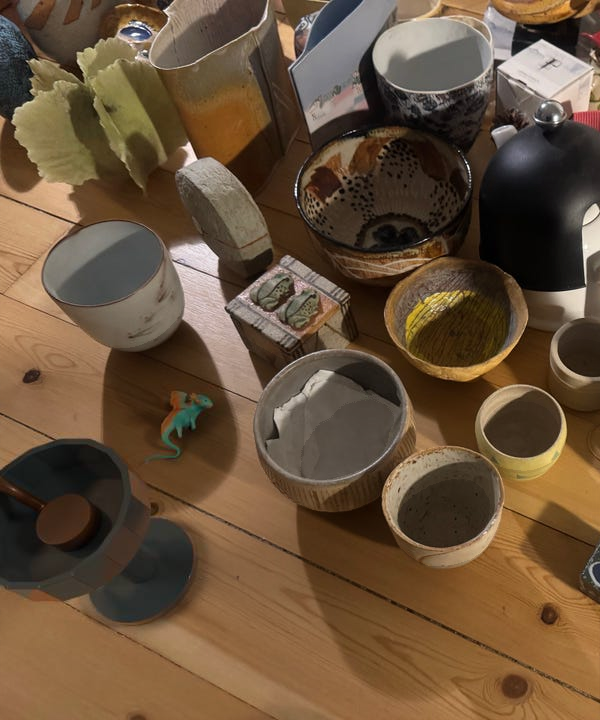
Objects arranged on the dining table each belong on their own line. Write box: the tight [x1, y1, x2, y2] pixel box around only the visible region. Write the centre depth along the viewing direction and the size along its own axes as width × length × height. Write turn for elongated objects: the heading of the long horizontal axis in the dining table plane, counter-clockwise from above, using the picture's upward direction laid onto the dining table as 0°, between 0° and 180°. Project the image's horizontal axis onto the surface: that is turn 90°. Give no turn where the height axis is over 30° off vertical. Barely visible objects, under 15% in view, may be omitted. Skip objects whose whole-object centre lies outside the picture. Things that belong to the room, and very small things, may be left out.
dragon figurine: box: [144, 390, 213, 465], centre depth 83 cm, size 7×7×8 cm
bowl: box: [0, 437, 199, 626], centre depth 67 cm, size 13×13×19 cm
